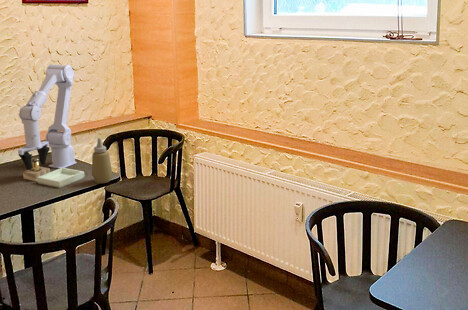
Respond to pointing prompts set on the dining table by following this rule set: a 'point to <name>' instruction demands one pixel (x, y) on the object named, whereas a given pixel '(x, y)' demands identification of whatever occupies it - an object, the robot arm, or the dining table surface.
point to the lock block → (35, 173)
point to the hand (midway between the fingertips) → (36, 166)
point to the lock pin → (35, 164)
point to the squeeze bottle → (101, 164)
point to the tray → (60, 177)
